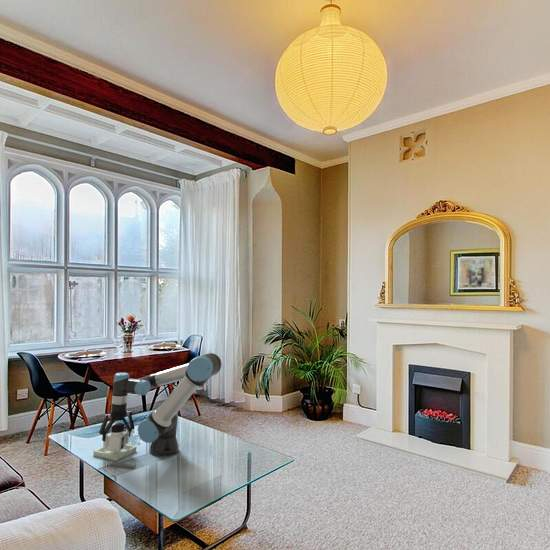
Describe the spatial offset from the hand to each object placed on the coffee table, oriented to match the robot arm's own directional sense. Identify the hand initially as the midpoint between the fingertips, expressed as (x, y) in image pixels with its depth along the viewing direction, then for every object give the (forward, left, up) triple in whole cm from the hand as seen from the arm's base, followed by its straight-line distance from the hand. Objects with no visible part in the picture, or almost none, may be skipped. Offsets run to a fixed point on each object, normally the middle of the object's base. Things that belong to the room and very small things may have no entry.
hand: (115, 445), depth 216 cm
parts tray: (0, 0, -4) cm, 4 cm away
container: (0, 0, -2) cm, 2 cm away
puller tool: (-14, +11, -4) cm, 18 cm away
